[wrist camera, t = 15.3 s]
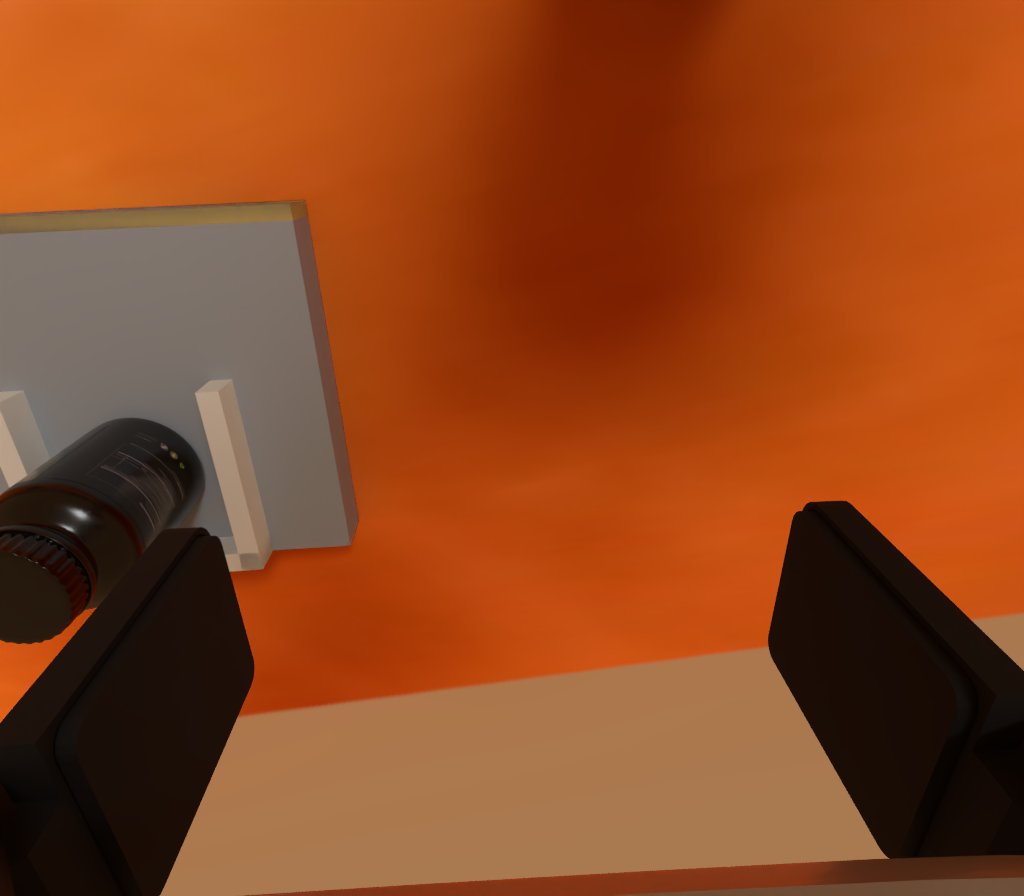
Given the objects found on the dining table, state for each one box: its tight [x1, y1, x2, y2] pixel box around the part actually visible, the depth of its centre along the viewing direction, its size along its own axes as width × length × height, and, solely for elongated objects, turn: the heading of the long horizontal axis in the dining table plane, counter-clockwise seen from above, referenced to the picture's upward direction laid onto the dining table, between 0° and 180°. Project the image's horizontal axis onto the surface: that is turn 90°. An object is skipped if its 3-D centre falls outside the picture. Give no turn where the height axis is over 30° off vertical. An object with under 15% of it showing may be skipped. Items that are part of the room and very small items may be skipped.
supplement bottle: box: [0, 418, 204, 644], centre depth 30 cm, size 7×7×12 cm
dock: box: [0, 200, 359, 572], centre depth 35 cm, size 20×22×5 cm
